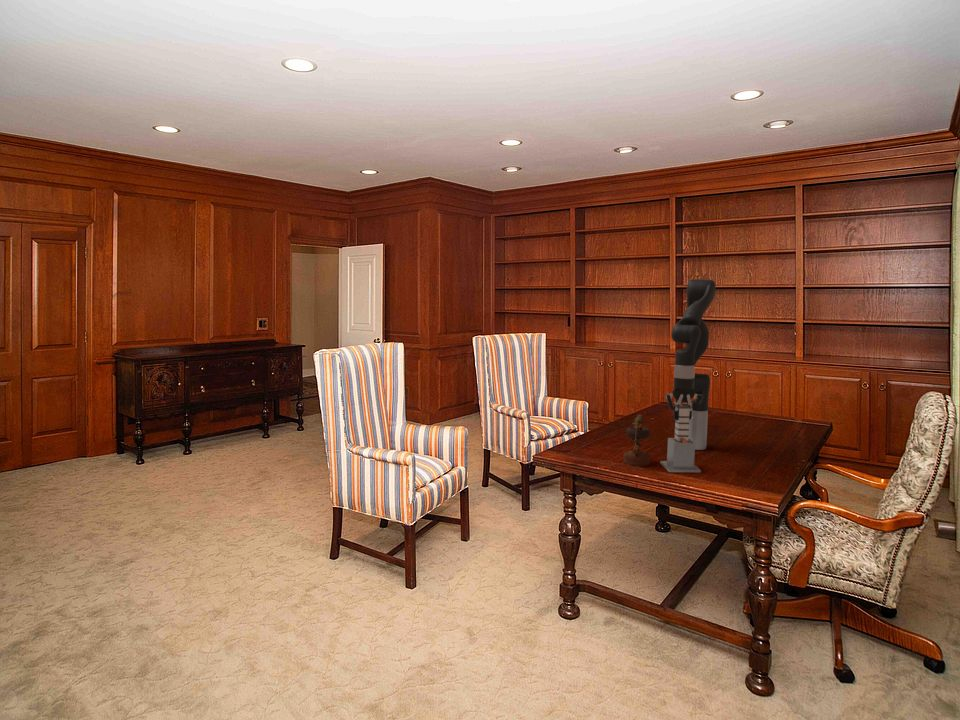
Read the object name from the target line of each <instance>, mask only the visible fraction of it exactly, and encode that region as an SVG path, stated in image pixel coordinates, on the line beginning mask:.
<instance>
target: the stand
mask: <svg viewBox="0 0 960 720" xmlns="http://www.w3.org/2000/svg"><path fill="white" fill-rule="evenodd" d="M674 439H675V437H667V447H666V448H667V454H666V460H660V465H661V466H662V467H664V469H666V470H667V472H669V473H699V474H700V473H701V472H702V470H701V469H700V468H699V466H697V465H696V464H695V457H696V456H695V455H696V454H695V453H696V452H695V451H696V450H695V443H694V442H693V441H691V440H690V439H689V438H688V442H687V440H686V439H682V440H681V442H676V441H675V440H674Z"/></svg>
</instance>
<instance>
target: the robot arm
mask: <svg viewBox="0 0 960 720" xmlns="http://www.w3.org/2000/svg"><path fill="white" fill-rule="evenodd" d="M716 287H717V286H716V282H715V281H714V280H712V279H701V278H700V279H698V278H697V279H695V278H692V279H689V281H687V285H686V308H685V310H684V313H683V316H682V318H681V319H679V321H678V322H676V323H675V325H673V328H672V330H671V339H672V341H673V342H675V343H678V344H685V348H680V349H677V350H676V352H675V358H674V359H675V360H674V361H675V362H674V368H673V369H674V370H673V371H674V372H673V387H672V392H671V393H666V394H664V397H665V400H666V403H667V406H668V408H669V409H670V410H672V415H673V416H672V417H673V419H674V421H675V420H678V408H677V406H680V404H686V405H688V406H691V407H692V408H691V409H690V413H689V434H688V435H689V436H688V438H689V439H690V440H691V441H693V442H694V443H695V451H697V450H698V451H699V450H700V451H701V450H702V451H703V450H707V441H708V440H707V437H708V422H709V421H708V417H709V415H708V414H709V398H710V397H709V396H710V387H711V377H710V375H709V374H707V373H696V372H695V371H696V370H695V365H696V364H697V363H698V361H699V360H700V359H701V358H702V356H703V355H704V353H705V352H706V350H707V349H708V348H709V342H710V341H709V340H710V331H709V328H708V326H707V325H706V322H705V321H704V320H703V316H704V314H705V312H706V311H707V310H708V308H709V307H710V305H711V304H712V302H713V300H714V298H715V296H716ZM673 398H674V399H675V400H674V404H673V402H672V399H673ZM693 398H694V400H692V399H693Z"/></svg>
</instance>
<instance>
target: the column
mask: <svg viewBox="0 0 960 720" xmlns="http://www.w3.org/2000/svg"><path fill="white" fill-rule="evenodd" d="M677 408H678V420H675V419H674V421H675V422H674V423H675V424H674V438H675V439H674V440H675V441H676V442H681V440H682V439H686V440H687V442H688V436H689V435H688V434H689V413H690V409H691V408H692V407H691V406H688V405H686V403H681V404H680V406H677Z"/></svg>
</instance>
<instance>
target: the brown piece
mask: <svg viewBox="0 0 960 720" xmlns="http://www.w3.org/2000/svg"><path fill="white" fill-rule="evenodd" d="M643 422H644V416H643V415H642V414H638V415H637V416H636V417H635V418H634V419H633V420H632V423H631V425H633V426H629V427H627V428H626V430H625V434H626V436H627V437H628V438H630V439H632V441H633V449H632V450H627V451H625V452H623V463H624V464H627V465H629V466H635V467H645V466H649V465H651V454H650V453H648V451H647V452H646V451H643V450H640V449H641V448H642V445H643V444H642V443H641V441H642V440H647V439H648V438H649V437H650V435H651V431H650V429H649V428H648V427H645V426H643Z"/></svg>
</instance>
